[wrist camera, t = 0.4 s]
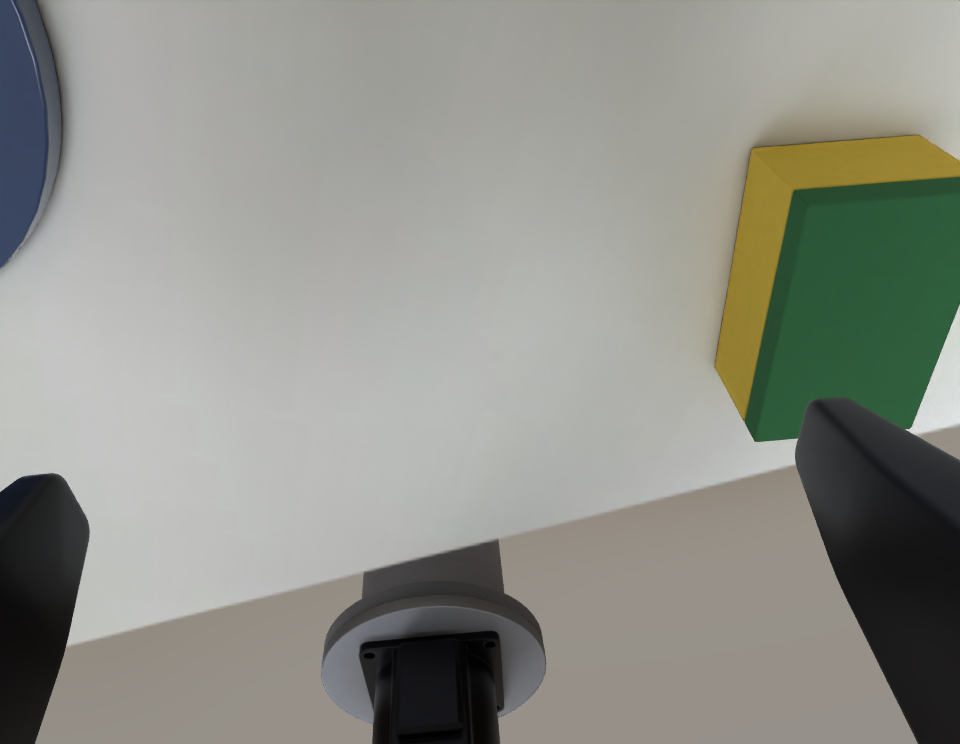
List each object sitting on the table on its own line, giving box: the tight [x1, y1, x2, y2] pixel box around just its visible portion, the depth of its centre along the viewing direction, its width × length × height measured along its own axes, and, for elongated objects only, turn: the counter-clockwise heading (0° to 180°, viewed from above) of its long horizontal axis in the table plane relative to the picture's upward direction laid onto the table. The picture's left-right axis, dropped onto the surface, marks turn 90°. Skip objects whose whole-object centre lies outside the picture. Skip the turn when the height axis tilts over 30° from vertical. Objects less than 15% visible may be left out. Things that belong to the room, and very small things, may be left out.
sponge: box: [715, 135, 960, 442], centre depth 23 cm, size 8×5×4 cm, turn 3°
